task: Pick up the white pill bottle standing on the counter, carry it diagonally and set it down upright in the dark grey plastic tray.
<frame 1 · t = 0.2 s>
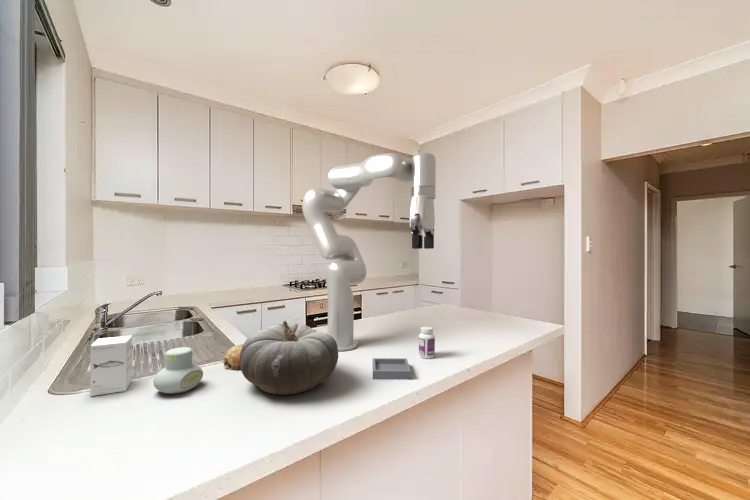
hand: (423, 248, 104), 36 cm above the counter, tool pointing down, fingers open, 9 cm apart
supplement box: (111, 389, 85), on the counter
air freshener: (178, 389, 85), on the counter
pill bottle: (426, 357, 112), on the counter
tray: (390, 371, 98), on the counter
gourd: (292, 383, 89), on the counter
bread roll: (241, 365, 103), on the counter
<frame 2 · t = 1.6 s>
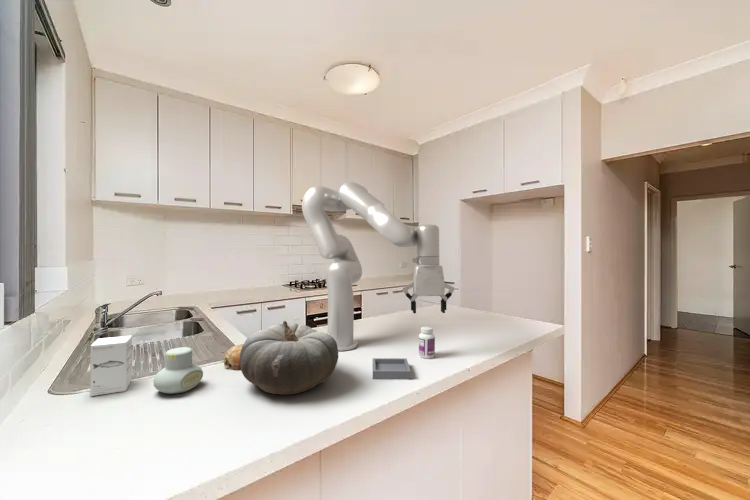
hand: (428, 312, 112), 15 cm above the counter, tool pointing down, fingers open, 9 cm apart
nothing on the counter moved.
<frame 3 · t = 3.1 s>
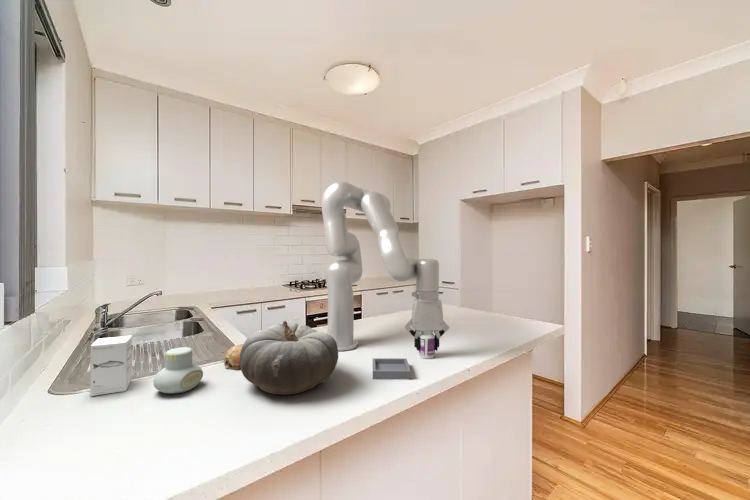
hand: (426, 348, 112), 3 cm above the counter, tool pointing down, fingers closed on pill bottle, 5 cm apart
pill bottle: (426, 356, 112), on the counter, touching gripper
everything else where it was.
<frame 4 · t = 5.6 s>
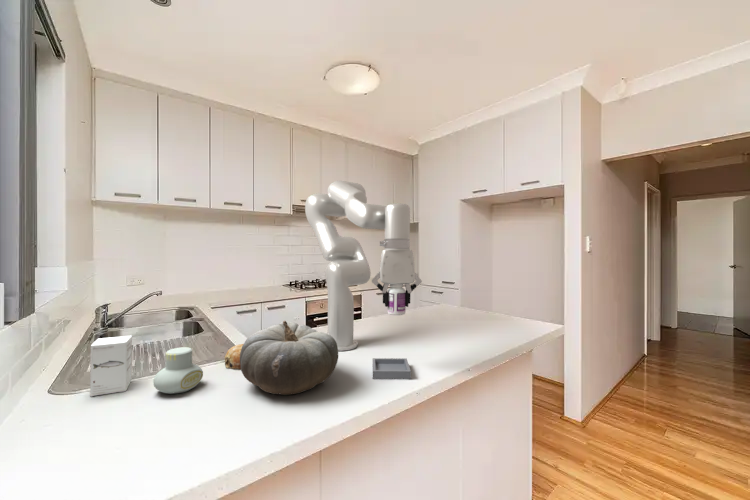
hand: (396, 305, 99), 19 cm above the counter, tool pointing down, fingers closed on pill bottle, 5 cm apart
pill bottle: (396, 314, 99), point 17 cm above the counter, touching gripper
everything else where it was.
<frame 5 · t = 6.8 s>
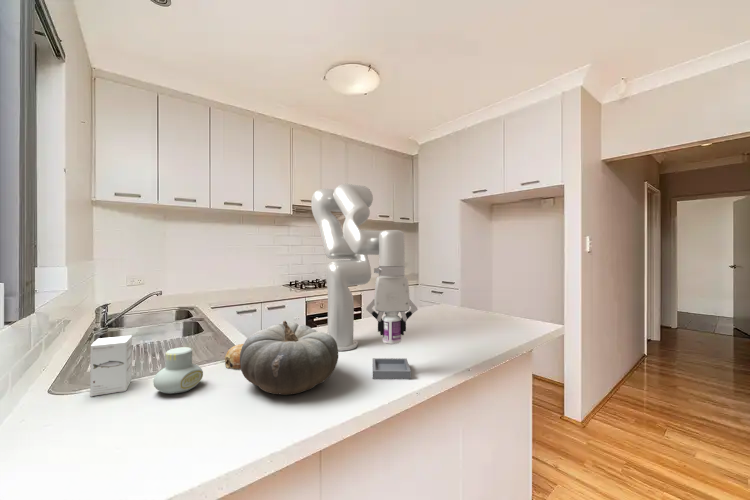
hand: (391, 333, 97), 11 cm above the counter, tool pointing down, fingers closed on pill bottle, 5 cm apart
pill bottle: (391, 342, 97), point 9 cm above the counter, touching gripper
everything else where it was.
when the fingers open (5 cm above the counter, at t = 7.9 s): pill bottle drops 1 cm, resting on tray.
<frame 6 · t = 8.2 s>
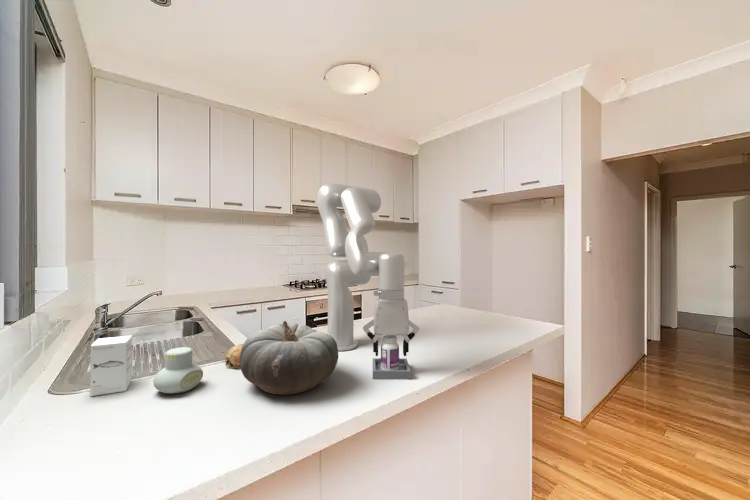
hand: (390, 354, 98), 5 cm above the counter, tool pointing down, fingers open, 7 cm apart
pill bottle: (390, 369, 98), point 1 cm above the counter, touching tray
everything else where it was.
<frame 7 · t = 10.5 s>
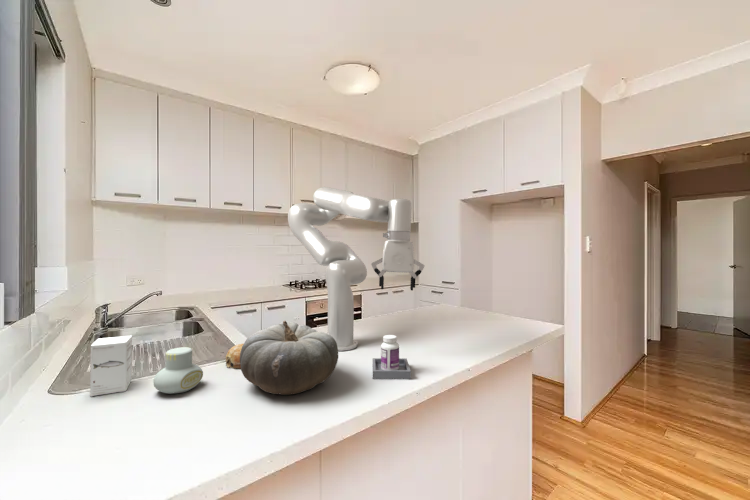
hand: (396, 289, 109), 23 cm above the counter, tool pointing down, fingers open, 9 cm apart
nothing on the counter moved.
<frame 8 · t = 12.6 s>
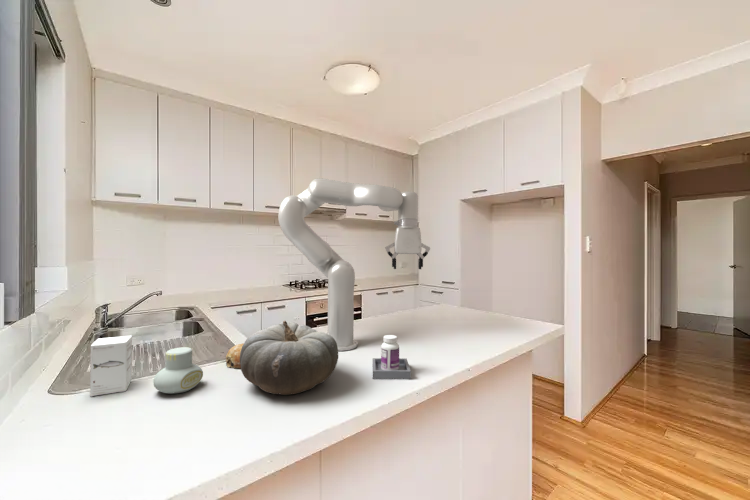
hand: (407, 269, 128), 28 cm above the counter, tool pointing down, fingers open, 9 cm apart
at the end: pill bottle inside the target area on the tray (0.2 cm from its centre), point 0.6 cm above the tray's base; pill bottle tilted 0°; the gripper is holding nothing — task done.
